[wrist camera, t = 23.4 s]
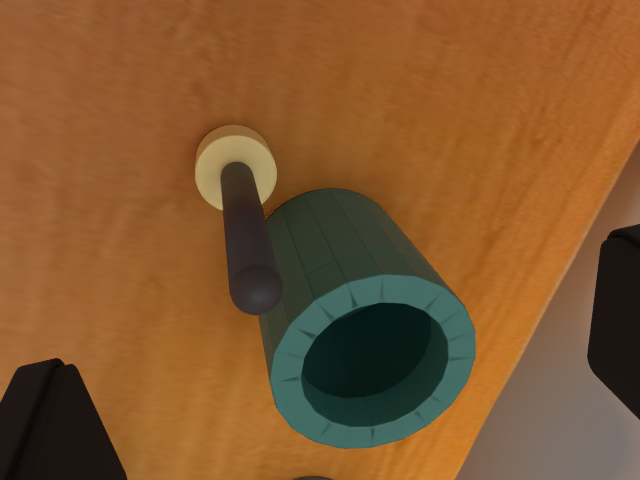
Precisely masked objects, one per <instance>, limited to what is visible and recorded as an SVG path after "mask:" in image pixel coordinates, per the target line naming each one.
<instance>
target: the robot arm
mask: <svg viewBox="0 0 640 480" xmlns="http://www.w3.org/2000/svg"><path fill="white" fill-rule="evenodd" d="M587 358H588V363H589V365H590V368H591V369H592V371H593V373H594V374H595V375H596V376H597V377H598V378H599V379H600V380H601V381H602V382H603V383H604V384H605V385H606V386H607V387H608V388H609V389H610V390H611V391H612V392H613V393H614V394H615V395H616V396H617V397H618V398H619V399H620V400H621V401H622V402H623V403H624V404H625V405H626V407H628V409H629V410H631V412H632V413H633V414H635V416H636V417H638V419H639V420H640V224H638V225H634V226H630V227H625V228H620V229H616V230H613V231H612V232H611V233H610V234H609V235H608V237H607V240H605V241H604V242H603V243H602V245H601V248H600V257H599V264H598V272H597V280H596V289H595V297H594V305H593V313H592V322H591V330H590V337H589V345H588V354H587ZM0 480H127V476H126V473H125V471H124V469H123V467H122V465H121V462H120V460H119V458H118V456H117V454H116V452H115V449H114V447H113V445H112V443H111V441H110V438H109V436H108V434H107V432H106V430H105V428H104V425H103V423H102V421H101V419H100V417H99V415H98V412H97V410H96V408H95V406H94V404H93V402H92V399H91V397H90V395H89V393H88V391H87V389H86V386H85V384H84V382H83V380H82V378H81V376H80V373H79V371H78V369H77V368H76V366H75V365H73V364H69V365H65V364H64V363H63V362H62V361H61V360H60V359H58V358H55V359H50V360H46V361H42V362H37V363H33V364H29V365H24V366H21V367H19V368H18V369H17V370H16V372H15V374H14V376H13V378H12V380H11V382H10V384H9V386H8V388H7V390H6V392H5V394H4V396H3V398H2V400H1V402H0Z"/></svg>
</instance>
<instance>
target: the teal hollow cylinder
mask: <svg viewBox="0 0 640 480" xmlns="http://www.w3.org/2000/svg"><path fill="white" fill-rule="evenodd" d="M266 223H267V227H268V231H269V235H270V238H271V242H272V246H273V249H274V253H275V257H276V260H277V264H278V268H279V271H280V275H281V279H282V283H283V294H282V297H281V299H280V301H279V303H278V305H277V306H276V307H275V308H274V309H272V310H271V311H270V312H268V313H265V314H262V315H259V321H260V327H261V333H262V339H263V345H264V351H265V357H266V363H267V369H268V375H269V381H270V385H271V389H272V393H273V398H274V402H275V405H276V408H277V409H278V411H279V412H280V413H281V415H282V416H283V417H284V419H285V420H286V421H287V423H288V424H289V425H290V427H291V428H293V429H294V430H296V431H297V432H299V433H301V434H302V435H304V436H305V437H307V438H309V439H310V440H312V441H314V442H317V443H321V444H325V445H329V446H333V447H337V448H343V449H347V448H371V447H376V446H380V445H383V444H387V443H391V442H394V441H398V440H400V439H401V440H402V439H404V438H405V437H407V436H409V435H411V434H413V433H415V432H417V431H419V430H421V429H422V428H424V427H426V426H427V425H429V424H430V423H431V422H432V421H433V420H435V419H436V418H437V417H438V416H439V415H440V414H442V413H443V412H444V411H445V410H446V409H447V408H448V407H449V406H451V405H452V403H453V402H454V400H455V399H456V397H457V396H458V395H459V393H460V392H461V390H462V389H463V387H464V386H465V385H466V383H467V381H468V378H469V375H470V372H471V369H472V366H473V363H474V360H475V357H476V356H475V355H476V351H475V329H474V326H473V324H472V321H471V319H470V317H469V315H468V312H467V310H466V308H465V306H464V304H463V303H462V302H461V301H460V300H459V299H458V297H457V296H456V295H455V294H454V293H453V291H452V290H451V289H450V288H449V287H448V285H447V284H446V283H445V282H444V281H443V279H442V278H441V277H440V276H439V275H438V273H437V272H436V271H435V270H434V269H433V268H432V266H431V265H430V264H429V263H428V262H427V260H426V259H425V258H424V257H423V256H422V254H421V253H420V252H419V251H418V250H417V248H416V247H415V246H414V245H413V244H412V242H411V241H410V240H409V239H408V238H407V237H406V235H405V234H404V233H403V232H402V231H401V229H400V228H399V227H398V226H397V225H396V223H395V222H394V221H393V220H392V219H391V218H390V217H389V216H388V215H387V214H386V213H385V211H384V210H383V209H382V208H381V207H380V206H379V205H377V204H376V203H375V202H374V201H372V200H371V199H369V198H367V197H366V196H364V195H361V194H359V193H356V192H353V191H349V190H344V189H321V190H315V191H311V192H307V193H304V194H302V195H299V196H297V197H295V198H293V199H291V200H290V201H288V202H286V203H285V204H283V205H282V206H281V207H279V208H278V209H277V210H276V211H275V212H274V213H273V214H272V215H271V216H270V217H269V218H268V219H267V221H266Z"/></svg>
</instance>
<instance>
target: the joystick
mask: <svg viewBox="0 0 640 480" xmlns="http://www.w3.org/2000/svg"><path fill="white" fill-rule="evenodd" d="M276 180H277V168H276V164H275V161H274V158H273V156H272V154H271V151H270V149H269V147H268V145H267V143H266V141H265V140H264V139H263V138H262V137H261V136H260V135H259V134H258V133H257V132H255V131H254V130H252V129H250V128H248V127H245V126H241V125H225V126H222V127H219V128H217V129H215V130H213V131H211V132H210V133H209V134H207V135H206V137H205V138H204V139H203V140H202V141H201V143H200V145H199V147H198V150H197V153H196V161H195V181H196V185H197V188H198V190H199V192H200V194H201V195H202V197H203V198H204V199H205V200H206V201H207V202H208V203H209V204H210V205H212V206H213V207H215V208H217V209H219V210H222V211H223V217H224V229H225V241H226V253H227V265H228V277H229V289H230V295H231V298H232V301H233V302H234V304H235V305H236V306H237V307H238V308H239V309H240V310H241V311H243V312H245V313H247V314H251V315H262V314H265V313H268V312H270V311H271V310H272V309H274V308H275V307H276V306H277V305H278V303H279V301H280V299H281V297H282V294H283V283H282V279H281V275H280V271H279V268H278V264H277V260H276V257H275V253H274V249H273V246H272V242H271V238H270V235H269V231H268V227H267V223H266V220H265V216H264V212H263V209H262V204H263V203H264V202H265V201H266V200H267V199H268V198H269V197H270V195H271V194H272V192H273V190H274V188H275V184H276Z"/></svg>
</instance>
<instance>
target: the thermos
mask: <svg viewBox="0 0 640 480" xmlns="http://www.w3.org/2000/svg"><path fill="white" fill-rule="evenodd" d="M295 480H331V479H327V478H323V477H302V478H299V479H295Z"/></svg>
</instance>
